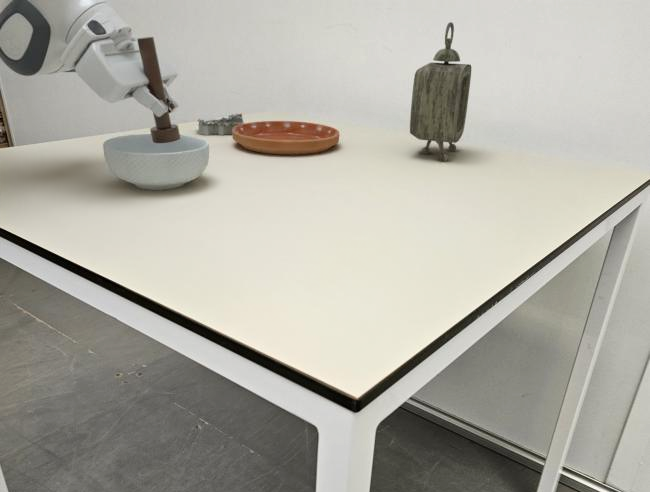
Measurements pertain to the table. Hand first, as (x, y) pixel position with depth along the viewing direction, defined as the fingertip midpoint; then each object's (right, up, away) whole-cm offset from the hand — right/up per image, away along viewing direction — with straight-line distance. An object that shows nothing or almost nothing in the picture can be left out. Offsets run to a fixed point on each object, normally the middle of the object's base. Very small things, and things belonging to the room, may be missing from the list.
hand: (169, 111), depth 95 cm
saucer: (+16, +5, +36) cm, 39 cm away
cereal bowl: (-3, -10, +6) cm, 12 cm away
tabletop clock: (+47, +2, +31) cm, 57 cm away
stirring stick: (-1, -4, +3) cm, 5 cm away
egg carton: (0, +11, +47) cm, 48 cm away
